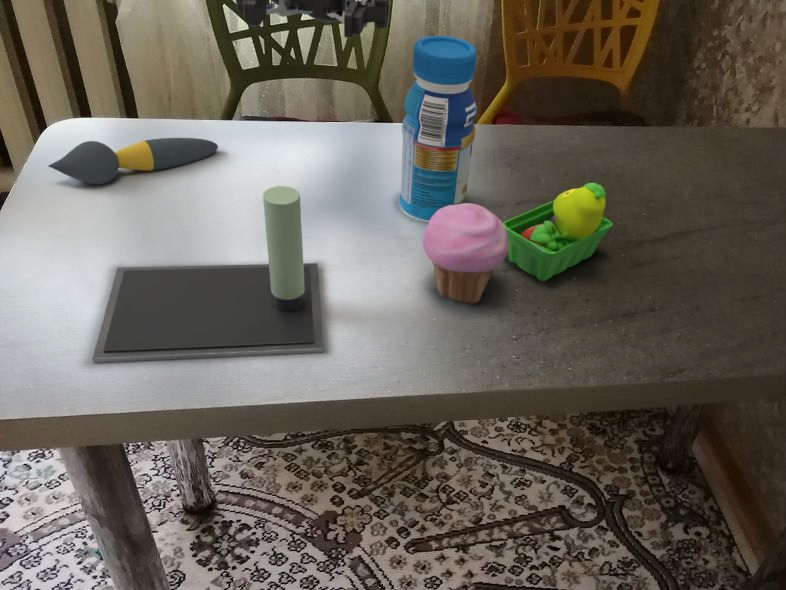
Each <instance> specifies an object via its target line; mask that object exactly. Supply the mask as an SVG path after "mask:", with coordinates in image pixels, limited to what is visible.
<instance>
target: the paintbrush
mask: <svg viewBox="0 0 786 590" xmlns="http://www.w3.org/2000/svg"><path fill="white" fill-rule="evenodd" d="M218 148H219V145H218V143H216V142H214V141H212V140H208V139H203V138H195V137H162V138H153V139H145V140H142V141H141V140H140V141H139V142H136V143H133V144H131V145H128V146H125V147H124V148H121V149H119V150H117V151H114V150H113V149H111V147H109V146H108V145H107V144H104V143H103V142H100V141H95V140H87V141H83V142H82V143H80V144H78V145H76V146H75V147H74V148H72V149H71V150H70V151H69V152H68V153H66V154H65V155H63V156H62V157H61V158H60V159H58V160H56V161H55V162H53V163H51V164H49V165H47V167H48V168H51V169H53V170H55V171H57V172H59V173H62V174H63V175H66V176H68V177H70V178H72V179H74V180H77V181H79V182H83V183H86V184H89V185H94V186H95V185H96V186H97V185H99V186H101V185H104V184H108V183H109V182H111V181H112V180H113V179H114V178H115V177H116V176H117V175H118V173H119V169H125V170H134V171H144V172H145V171H146V172H152V171H160V170H164V169H165V170H166V169H171V168H176V167H180V166H183V165H187V164H190V163H193V162H197V161H200V160H202V159H205V158H207V157H209V156H211V155H212V154H214V153H216V152H217V150H218Z"/></svg>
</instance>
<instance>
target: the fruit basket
mask: <svg viewBox="0 0 786 590" xmlns="http://www.w3.org/2000/svg"><path fill="white" fill-rule="evenodd" d="M606 193H607V192H606V190H605V188H604V186H602V185H600V184H598V183H596V182H588V183H586V184H584V185H583V186H582V187H578V188H572V189H569V190H565V191H563V192H561V193H559V194H558V195H557V196H556V198H555V199H554V200H551V201H549V202H547V203H544V204H542V205H540V206H538V207H535V208H533V209H530V210H527V211H526V212H524V213H521V214H519V215H517V216H515V217H512V218H509V219H507V220H505V221H502V223H503V225H504V228H505V229H506V232H507V242H508V250H507V254H508V261H509V262H510V263H512V264H514V265H516V266H518V268H520V269H521V270H523V271H524V272H526V273H527V274H529V275H531V276H534V277H535V278H536V279H537V280H539V281H541V282H545V281H547V280H549V279H551V278H552V277H553V276H555V275H558V274H560V273H563V272H564V271H566V270H567V268H570V267H573V266H575V265H578V264H579V263H580V262H581V261H583V260H587V259H588V258H591V257H592V256H593V254H594V253H595V251H596V249H597V248H598V246H599V245H600V243H601V241H602V240H603V238H604V237H605V235H606V233H608V232H609V230H610V229H611V227H612V226H613V223H612V221H610V220H609V219H607V218H606V217H604V210H605V208H606V196H607V194H606Z"/></svg>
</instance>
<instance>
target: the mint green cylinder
mask: <svg viewBox="0 0 786 590" xmlns="http://www.w3.org/2000/svg"><path fill="white" fill-rule="evenodd" d="M262 199H263V201H262V202H263V212H264V223H265V236H266V249H267V259H268V264H269V271H270V283H271V294H272V304H273V306H274V307H275V308H276V309H278V310H280V311H285V312H291V311H296V310H298V309H300V308H302V307H303V306H304V304H305V286H304V266H303V264H304V252H303V251H304V249H303V230H302V212H301V211H302V210H301V194H300V192H299V191H298V190H297V189H296V188H294V187H291V186H285V185H284V186H281V185H279V186H278V185H277V186H273V187H269V188H268V189H266V190H265V191H264V192H263V194H262Z"/></svg>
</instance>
